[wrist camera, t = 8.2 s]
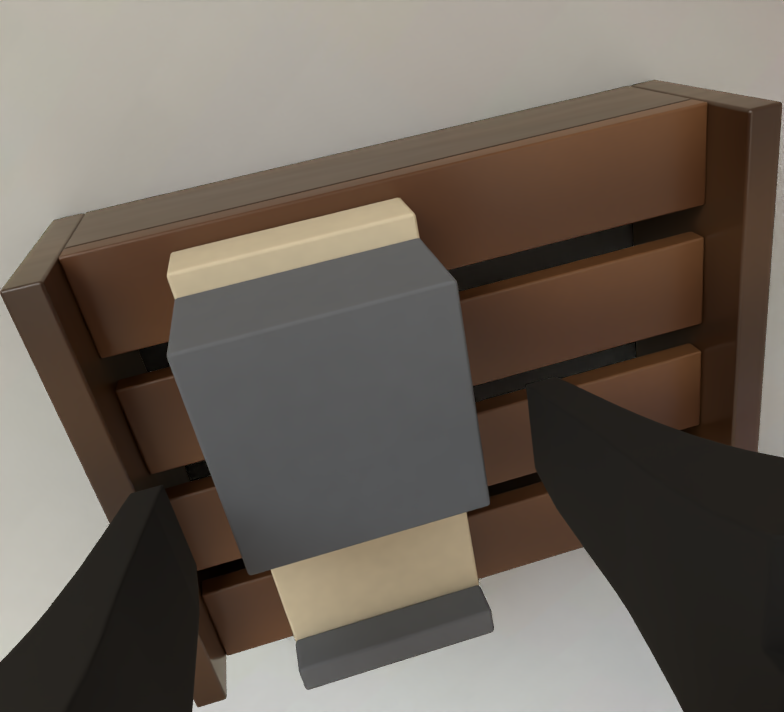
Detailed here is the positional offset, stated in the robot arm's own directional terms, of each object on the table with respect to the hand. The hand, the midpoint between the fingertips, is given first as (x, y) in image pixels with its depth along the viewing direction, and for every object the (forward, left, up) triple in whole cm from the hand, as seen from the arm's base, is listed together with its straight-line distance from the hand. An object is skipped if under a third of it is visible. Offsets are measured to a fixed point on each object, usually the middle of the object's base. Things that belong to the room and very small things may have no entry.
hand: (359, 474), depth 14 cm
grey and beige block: (-1, 0, -4) cm, 4 cm away
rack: (-1, -2, -7) cm, 8 cm away
